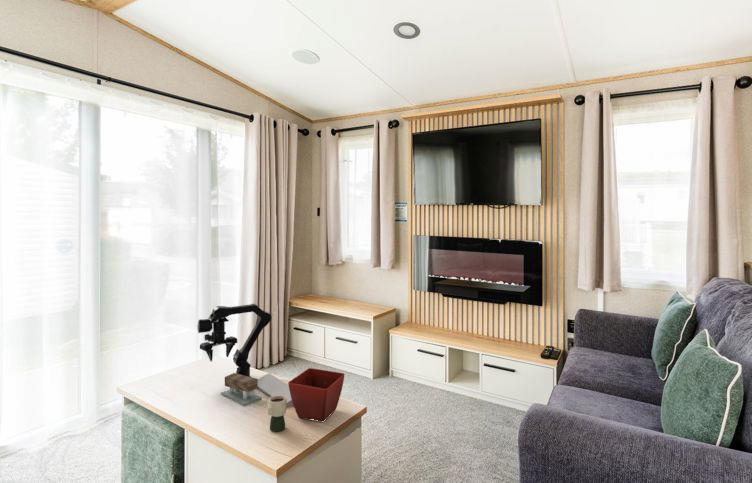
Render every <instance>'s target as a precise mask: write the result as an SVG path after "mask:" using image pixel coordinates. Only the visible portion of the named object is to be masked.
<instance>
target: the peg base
mask: <svg viewBox="0 0 752 483" xmlns="http://www.w3.org/2000/svg"><path fill="white" fill-rule="evenodd" d="M228 388H229V389H227V390H225V391H222V392H220V395H221V396H223V397H225V398H227V399H229V400H231V401H232V402H234V403H236V404H238V405H240V406H242V407H245V406H248V405H250V404H253V403H256V402H259V401H261V400H262V399H263V398H262V396H260V395H257V394H256V393H254V390H253V391H251V392H245V391H242V390H238V389H234V388H230V387H228Z"/></svg>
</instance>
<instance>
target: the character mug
mask: <svg viewBox="0 0 752 483" xmlns="http://www.w3.org/2000/svg"><path fill="white" fill-rule="evenodd" d="M286 405H287V399H286V397H285V396H283V395H276V396H272V397H270V396H269V398H268V407H267V414H268V416H271V417H270V422H269V430H270V431H275V432H280V431H283V430H284V429H285V428H286V421H285V415H286V413H287V407H286Z"/></svg>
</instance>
